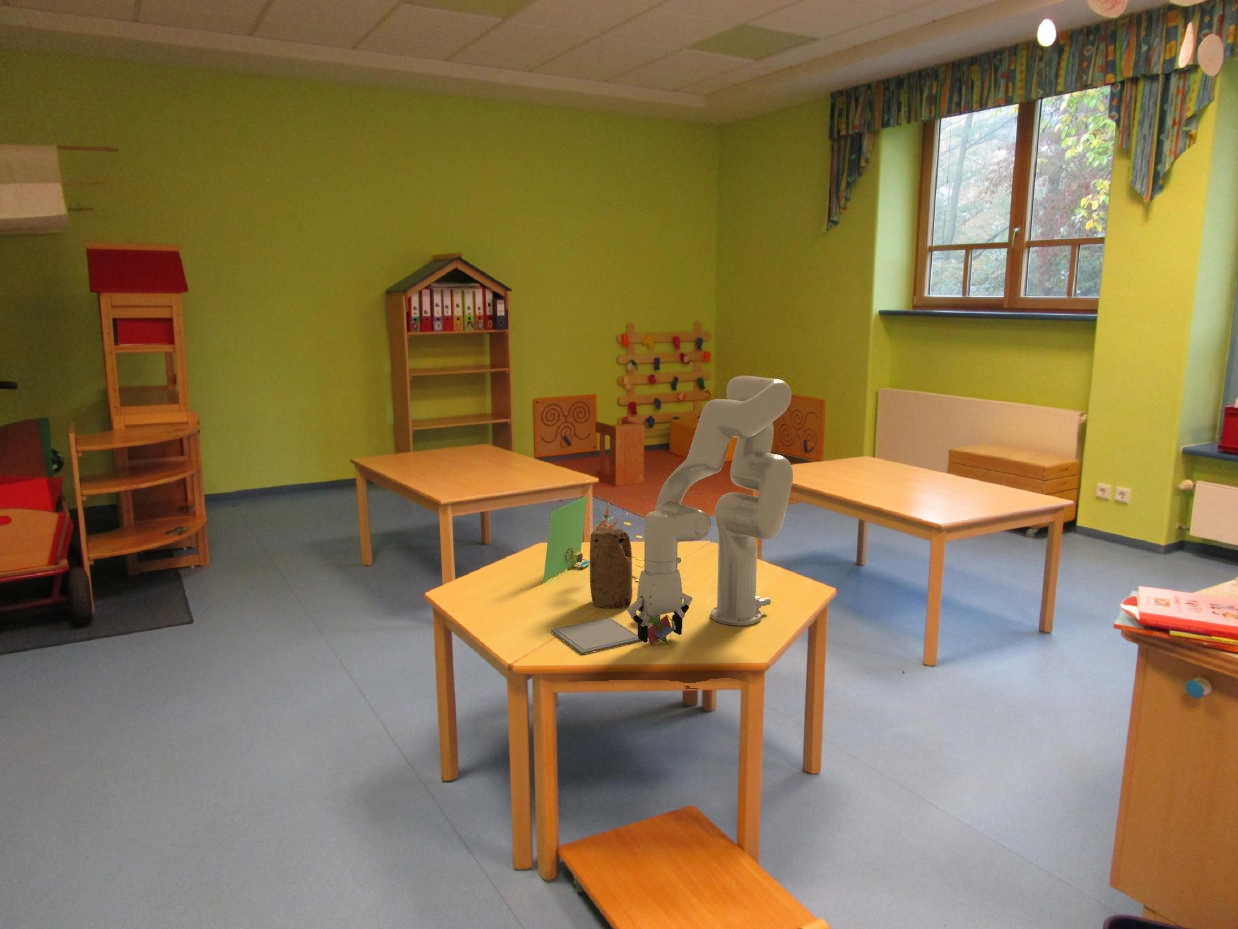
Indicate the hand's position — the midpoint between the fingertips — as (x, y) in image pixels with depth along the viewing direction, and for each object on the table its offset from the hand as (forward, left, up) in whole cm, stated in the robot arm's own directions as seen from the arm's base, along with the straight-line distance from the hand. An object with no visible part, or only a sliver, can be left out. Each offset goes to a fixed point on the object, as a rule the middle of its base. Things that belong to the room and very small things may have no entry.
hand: (660, 636), depth 204 cm
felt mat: (+11, -11, -1) cm, 15 cm away
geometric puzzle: (0, 0, -2) cm, 2 cm away
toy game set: (-11, -48, -2) cm, 49 cm away
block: (-3, -28, -2) cm, 28 cm away
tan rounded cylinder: (-6, -14, -1) cm, 15 cm away
